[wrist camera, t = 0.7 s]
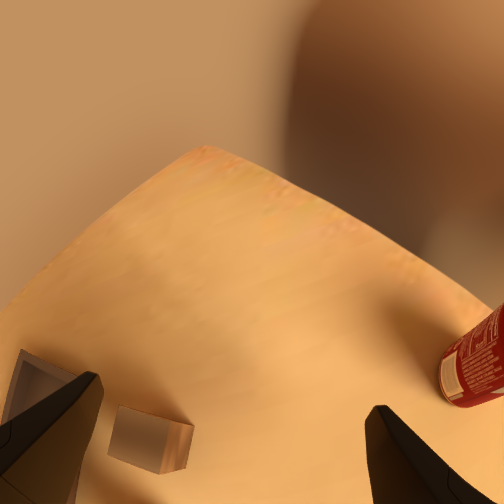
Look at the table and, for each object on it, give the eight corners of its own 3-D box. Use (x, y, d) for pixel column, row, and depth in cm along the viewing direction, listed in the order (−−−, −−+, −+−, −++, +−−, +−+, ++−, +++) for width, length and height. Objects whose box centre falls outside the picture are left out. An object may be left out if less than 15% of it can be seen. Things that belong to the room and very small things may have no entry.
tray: (71, 534, 13) (56, 537, 11) (8, 487, 15) (-8, 486, 13) (99, 385, 23) (85, 379, 21) (35, 356, 25) (21, 348, 23)
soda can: (432, 409, 19) (520, 374, 10) (435, 340, 23) (508, 273, 14) (486, 408, 18) (573, 370, 8) (486, 344, 22) (560, 285, 12)
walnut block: (185, 468, 19) (159, 474, 14) (142, 454, 19) (107, 454, 15) (194, 426, 21) (170, 421, 16) (151, 414, 22) (119, 404, 17)
